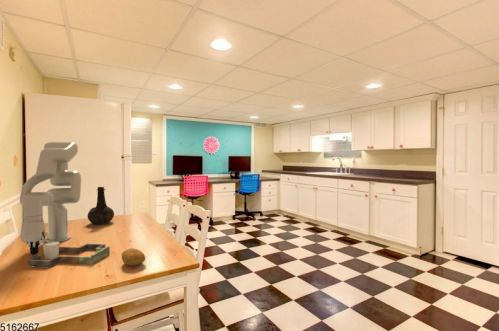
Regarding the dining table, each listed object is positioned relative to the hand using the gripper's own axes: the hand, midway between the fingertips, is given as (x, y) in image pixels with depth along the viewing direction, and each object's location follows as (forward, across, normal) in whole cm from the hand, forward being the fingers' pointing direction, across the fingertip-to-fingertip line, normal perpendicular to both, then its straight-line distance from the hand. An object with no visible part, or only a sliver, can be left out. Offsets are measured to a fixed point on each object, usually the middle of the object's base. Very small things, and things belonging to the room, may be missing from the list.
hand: (34, 254), depth 133 cm
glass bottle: (+1, -9, +65) cm, 66 cm away
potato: (+2, +56, -5) cm, 56 cm away
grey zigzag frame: (+1, +20, 0) cm, 21 cm away
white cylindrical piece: (+1, +10, 0) cm, 10 cm away
